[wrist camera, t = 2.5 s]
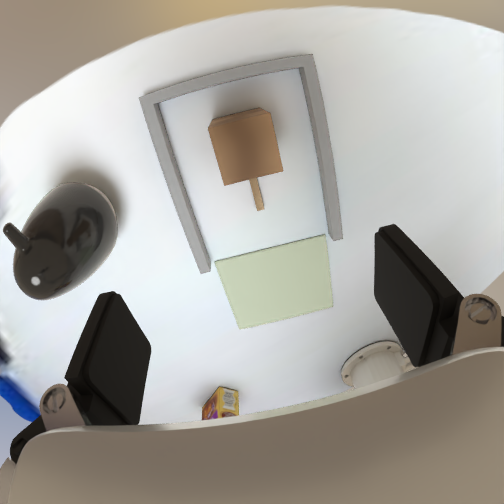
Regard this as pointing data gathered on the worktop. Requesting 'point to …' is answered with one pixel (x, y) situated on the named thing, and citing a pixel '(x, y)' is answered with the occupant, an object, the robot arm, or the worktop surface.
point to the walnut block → (246, 148)
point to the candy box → (221, 405)
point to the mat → (278, 282)
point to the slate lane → (152, 99)
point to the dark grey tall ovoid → (63, 240)
